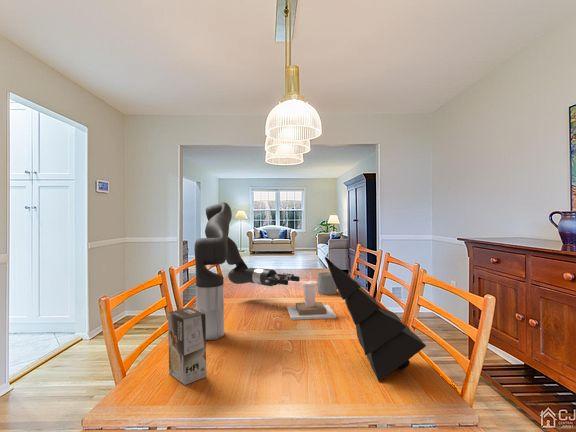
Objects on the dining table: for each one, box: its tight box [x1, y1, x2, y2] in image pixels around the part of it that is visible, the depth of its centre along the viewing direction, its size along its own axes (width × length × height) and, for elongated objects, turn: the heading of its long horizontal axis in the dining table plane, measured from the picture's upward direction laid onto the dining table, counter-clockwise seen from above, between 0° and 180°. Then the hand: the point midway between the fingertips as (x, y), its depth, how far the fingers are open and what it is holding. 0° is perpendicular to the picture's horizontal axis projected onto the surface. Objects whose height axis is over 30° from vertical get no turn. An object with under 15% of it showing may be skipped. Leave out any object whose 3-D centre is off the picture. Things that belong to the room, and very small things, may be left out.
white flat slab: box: [286, 301, 337, 321], centre depth 138 cm, size 16×18×3 cm
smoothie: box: [301, 271, 318, 307], centre depth 138 cm, size 6×6×14 cm
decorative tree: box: [324, 256, 427, 382], centre depth 88 cm, size 15×15×35 cm
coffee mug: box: [316, 271, 338, 296], centre depth 173 cm, size 13×10×10 cm
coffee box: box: [167, 307, 207, 386], centre depth 85 cm, size 9×6×16 cm
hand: (293, 280), depth 143 cm, fingers open, 8 cm apart
